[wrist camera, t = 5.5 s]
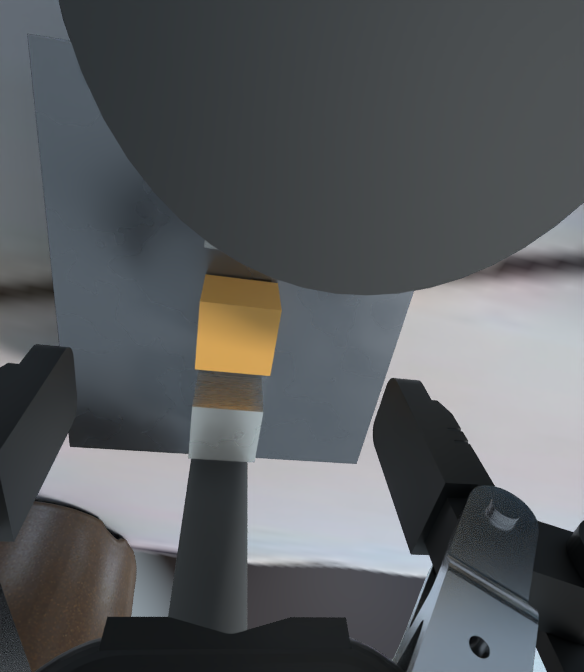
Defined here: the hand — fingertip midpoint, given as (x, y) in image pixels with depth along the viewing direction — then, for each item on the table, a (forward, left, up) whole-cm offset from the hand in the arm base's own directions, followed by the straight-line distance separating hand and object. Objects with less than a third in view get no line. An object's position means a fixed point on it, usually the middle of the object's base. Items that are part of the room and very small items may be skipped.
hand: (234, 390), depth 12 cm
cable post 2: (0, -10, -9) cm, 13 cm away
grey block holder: (0, 0, -9) cm, 9 cm away
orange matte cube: (0, 0, -5) cm, 5 cm away
